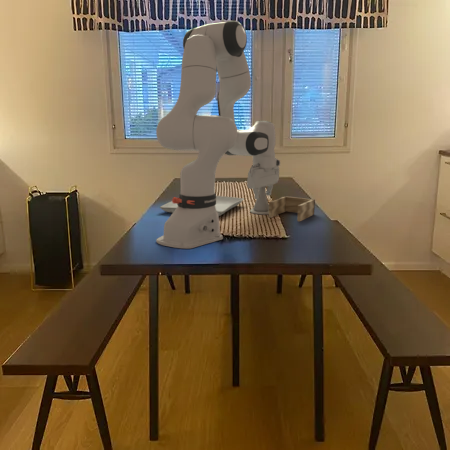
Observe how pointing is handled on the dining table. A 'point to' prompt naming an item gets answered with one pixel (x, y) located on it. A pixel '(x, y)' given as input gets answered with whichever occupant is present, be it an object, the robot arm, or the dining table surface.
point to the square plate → (221, 205)
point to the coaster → (259, 212)
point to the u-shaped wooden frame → (292, 207)
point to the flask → (261, 201)
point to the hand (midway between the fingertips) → (263, 197)
